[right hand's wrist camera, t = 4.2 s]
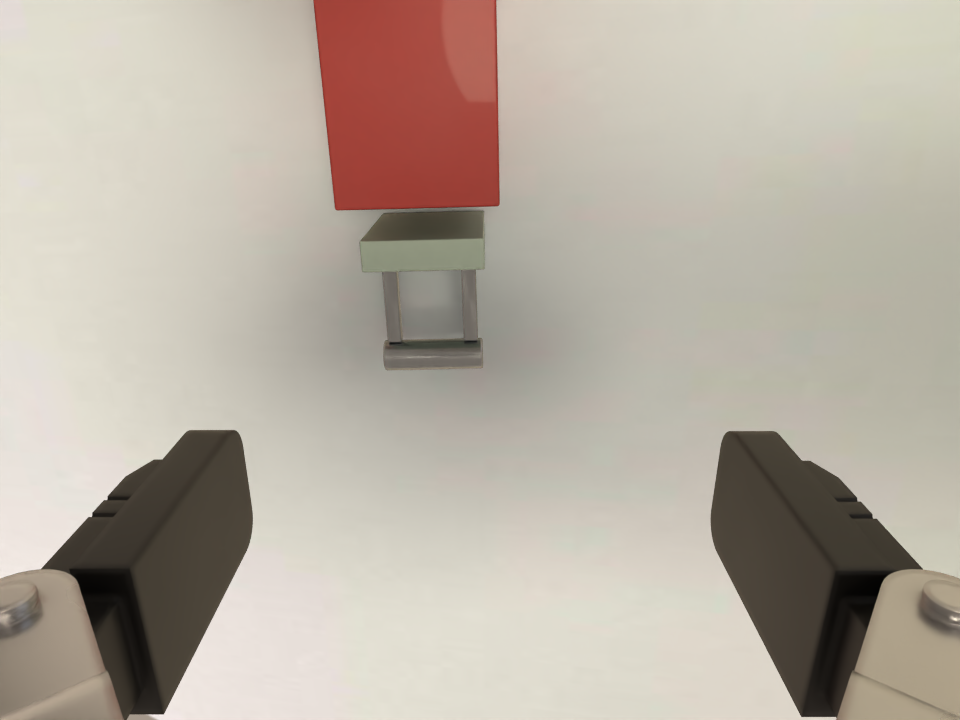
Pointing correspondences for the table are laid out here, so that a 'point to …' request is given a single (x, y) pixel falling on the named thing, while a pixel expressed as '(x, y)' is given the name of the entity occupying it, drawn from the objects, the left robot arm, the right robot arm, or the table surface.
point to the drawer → (428, 248)
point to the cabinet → (410, 102)
